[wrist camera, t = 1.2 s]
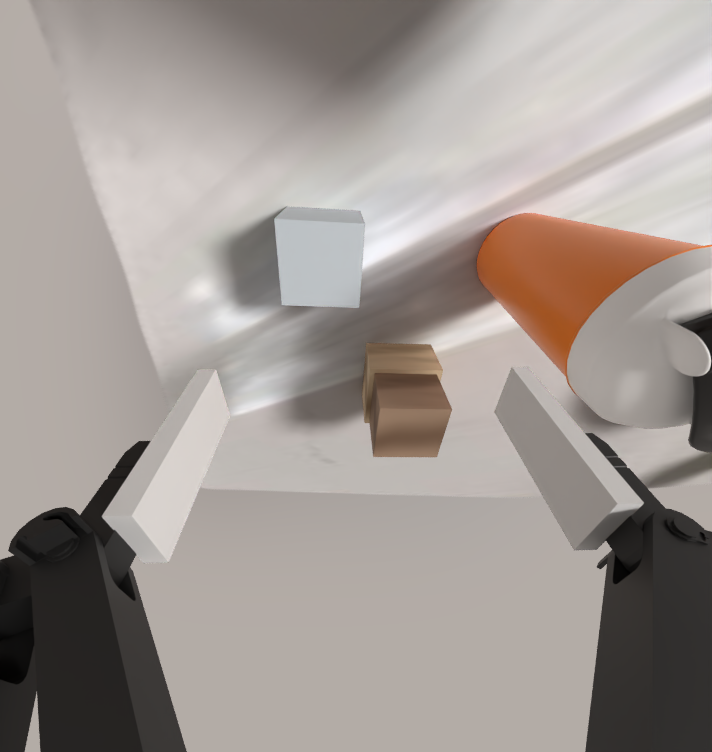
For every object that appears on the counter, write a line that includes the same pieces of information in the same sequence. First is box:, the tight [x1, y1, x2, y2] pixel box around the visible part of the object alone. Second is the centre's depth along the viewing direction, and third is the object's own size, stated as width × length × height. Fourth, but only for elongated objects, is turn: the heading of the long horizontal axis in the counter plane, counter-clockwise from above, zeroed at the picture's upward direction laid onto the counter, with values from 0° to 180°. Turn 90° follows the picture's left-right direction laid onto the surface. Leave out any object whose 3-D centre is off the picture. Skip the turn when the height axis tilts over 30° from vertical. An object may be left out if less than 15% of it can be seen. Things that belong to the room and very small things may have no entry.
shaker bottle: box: [477, 213, 712, 452], centre depth 20 cm, size 9×9×20 cm
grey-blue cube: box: [274, 206, 365, 308], centre depth 25 cm, size 6×6×6 cm
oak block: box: [362, 343, 443, 423], centre depth 33 cm, size 7×7×5 cm
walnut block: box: [369, 373, 452, 457], centre depth 29 cm, size 6×6×5 cm
